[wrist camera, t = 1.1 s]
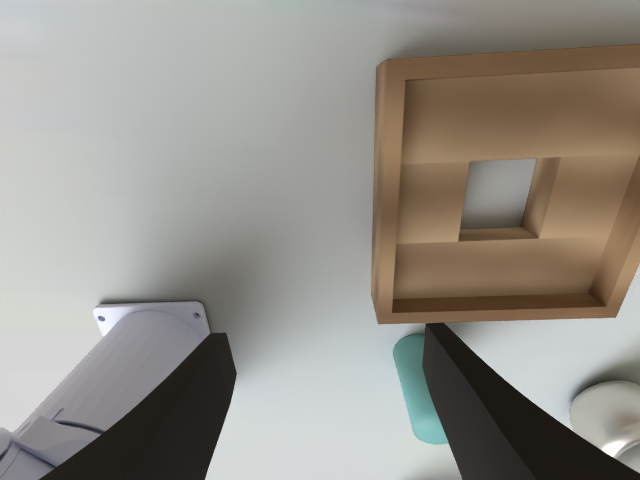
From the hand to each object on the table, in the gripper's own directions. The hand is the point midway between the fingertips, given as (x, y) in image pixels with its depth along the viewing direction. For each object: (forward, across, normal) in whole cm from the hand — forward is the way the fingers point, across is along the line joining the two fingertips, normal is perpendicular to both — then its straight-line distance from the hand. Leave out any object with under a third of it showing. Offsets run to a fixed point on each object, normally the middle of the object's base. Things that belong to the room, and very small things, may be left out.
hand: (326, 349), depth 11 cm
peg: (+10, -6, +10) cm, 15 cm away
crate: (+10, -10, -2) cm, 14 cm away
